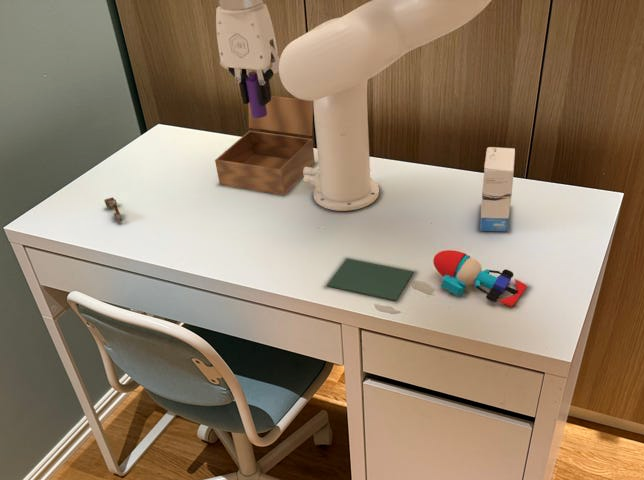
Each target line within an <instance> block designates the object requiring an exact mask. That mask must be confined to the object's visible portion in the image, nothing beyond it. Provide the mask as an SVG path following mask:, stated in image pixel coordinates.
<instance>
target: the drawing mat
mask: <svg viewBox="0 0 644 480" xmlns="http://www.w3.org/2000/svg"><path fill="white" fill-rule="evenodd" d="M413 275H414V271H412V270H408V269H402V268H398V267H392V266H388V265H384V264H383V265H382V264H378V263H372V262H367V261H362V260H357V259H352V258H345V260H344V262H343V263H342V264H341V265H340V267H339V268H338V269H337V271H336V272H335V274H334V275H333V276H332V277H331V278H330V280H329V281H328V283H327V284H326V287H328V288H332V289H338V290H342V291H346V292H352V293H355V294H356V293H357V294H361V295H366V296H369V297H370V296H371V297H375V298H378V299H384V300H388V301H393V302H397V301H398V299H399V297H400V296H401V294H402V293H403V291H404V289H405V288H406V286H407V285H408V283H409V281H410V279H411V278H412V276H413Z"/></svg>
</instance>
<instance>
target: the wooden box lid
mask: <svg viewBox="0 0 644 480" xmlns="http://www.w3.org/2000/svg"><path fill="white" fill-rule="evenodd" d="M247 110H248V129H256V130H263V131H271V132H276V133H277V132H278V133H285V134H292V135H293V134H294V135H300V136H301V135H302V136H309V137H313V121H314V118H313V117H314V100H313V101H307V100H302V99H299V98H291V97H283V96H274V95H271V101H270V102H268V103H267V104H266V110H267V115H266V116H264V117H262V118H254V117H252V115H251V109H250V103H248V109H247Z"/></svg>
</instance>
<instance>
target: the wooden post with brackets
mask: <svg viewBox="0 0 644 480" xmlns="http://www.w3.org/2000/svg"><path fill="white" fill-rule="evenodd" d="M103 201H104V204H105V206H106V209H107V210H108V209H111V208H113V209H114V213H113V215H114V218H115V219H116V220H118V222H120V223H121V222H123V218H122V214H121V212H120V211H119V208H118V202H117V199H115V197H113V196H112V197H109V198H105V199H103Z"/></svg>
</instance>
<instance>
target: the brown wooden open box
mask: <svg viewBox="0 0 644 480" xmlns="http://www.w3.org/2000/svg"><path fill="white" fill-rule="evenodd" d="M214 163H215V167H216V172H217V176H218V182H219V185H220V186H224V187H230V188H235V189H236V188H237V189H244V190H249V191H255V192H259V193H266V194H272V195H278V196H283V197H284V196H286V195H287V194H288V192H289V191H290V190H291V189H292V188H293V187H294V186H295V185H296V184H297V183H298V182H299V181H300V180H301V179H302V178H303V177H304V176H303V169H304V167H312V168H313V166H315V164H316V161H315V151H314V141H313V138H307V137H299V136H293V135H287V134H277V133H270V132H263V131H255V130H248V131H247V132H246V133H245V134H243V135H242V136H241V137H240V138H239V139H238V140H236V141H235V142H234V143H233V144H232V145H230V146H229V147H228V149H226V150H225V151H223V153H221V154H220V155H219V156H218V157H216V158H215V160H214Z"/></svg>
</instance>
